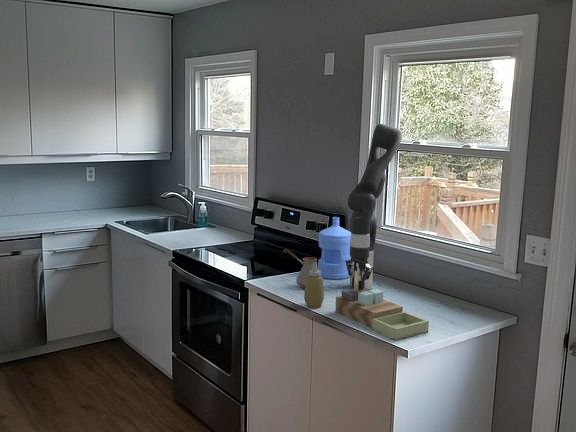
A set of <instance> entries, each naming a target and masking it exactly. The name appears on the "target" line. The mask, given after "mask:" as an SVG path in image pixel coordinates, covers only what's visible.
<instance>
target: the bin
mask: <svg viewBox="0 0 576 432" xmlns="http://www.w3.org/2000/svg"><path fill="white" fill-rule="evenodd" d="M429 323H430V321H429V320H428V319H425V318H422V317H420V316H417V315H414V314H412V313H410V312H407V311H403V312H400V313H396V314H391V315H387V316H383V317H379V318H374V319H372V328H371V331H374V332H376V333H378V334H381V335H383V336H385V337H387V338H390V339H391V338H392V340H394V341H398V340H402V339H405V338H410V337H413V336H418V335H420V334H425V333H428V332H429V327H430V326H429Z"/></svg>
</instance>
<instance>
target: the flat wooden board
mask: <svg viewBox="0 0 576 432" xmlns="http://www.w3.org/2000/svg"><path fill="white" fill-rule="evenodd" d="M403 309H404V306H403V305H400V304H397V303H394V302H391V301H389V300H386V299H384V298H383V302H381V303H376V304H375V303H373V304H371V305H367V306H364V305H362V304H359V303H358V300H357V301H352V302H351V301H349V300H346V299H344V298H342V295H339V296H336V297H335V309H334V310H335V313H337V314H339V315H342V316H343V317H346V318H349V319H350V320H352V319H353V321H355V322H357V323H359V324H362V325H364V326H366V327H368V328H370V329H372V319H374V318H379V317H383V316H387V315H391V314H396V313H400V312H404V311H403Z"/></svg>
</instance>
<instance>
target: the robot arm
mask: <svg viewBox="0 0 576 432" xmlns="http://www.w3.org/2000/svg"><path fill="white" fill-rule="evenodd" d="M372 134H373V135H372V137H371V144H370V149H369V153H368V159H367V163H366V166H365V169H364V172H363V174H362V177H361V179H360V181H359V183H358V184H356V186H355V187H354V188H353V190H352V191H351V192H350V194H349V195H348V197H347V203H346V204H347V207H348V208H349V210H351V211H352V214H351V215H350V219H349V220H350V221H349V230H350V231H349V232H351V237H350V257H351V259H350V260H346V266H347V270H348V274H349V275H350V276H349V287H351V289H354V277H355V270H357V274H358V275H359V284H358V289H359V290H363V289H364V288H367V289H370V290H372V288H373V275H374V274H373V272H374V271H373V270H374V254H375V253H374V250H375V245H376V237H377V226H378V221H377V217H376V215H375V214H374V211H375V208H376V206H377V205H376V203H377V199H378V198H380V196H381V194H382V192H383V189H384V188H385V187H384V186H385V183H386V178H387V177H386V173H385V172H386V169H387V168H388V167H389V165H390V163H391V162H392V159H393V158H394V156H395V154H396V152H397V151H398V148H399V146H400V144H401V143H402V138H403V131H402V130H401V129H399V128H397V127H393V126H390V125H387V124H383V123H378V124H376V126H375V128H374V131H373V132H372ZM380 149H383V150H386V152H385V153H384V154H383V155H381V156H380ZM361 271H363V272H361Z"/></svg>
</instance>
